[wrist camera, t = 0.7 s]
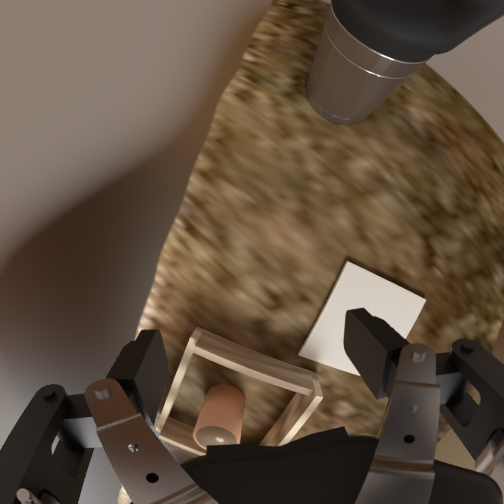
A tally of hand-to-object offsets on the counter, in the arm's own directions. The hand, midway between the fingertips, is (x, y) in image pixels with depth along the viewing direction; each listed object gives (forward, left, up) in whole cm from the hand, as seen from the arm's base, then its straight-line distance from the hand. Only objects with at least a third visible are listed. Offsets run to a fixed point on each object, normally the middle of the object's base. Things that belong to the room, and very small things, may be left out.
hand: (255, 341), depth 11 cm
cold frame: (+22, +5, -23) cm, 32 cm away
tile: (+3, +17, -23) cm, 29 cm away
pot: (+22, +4, -23) cm, 32 cm away
